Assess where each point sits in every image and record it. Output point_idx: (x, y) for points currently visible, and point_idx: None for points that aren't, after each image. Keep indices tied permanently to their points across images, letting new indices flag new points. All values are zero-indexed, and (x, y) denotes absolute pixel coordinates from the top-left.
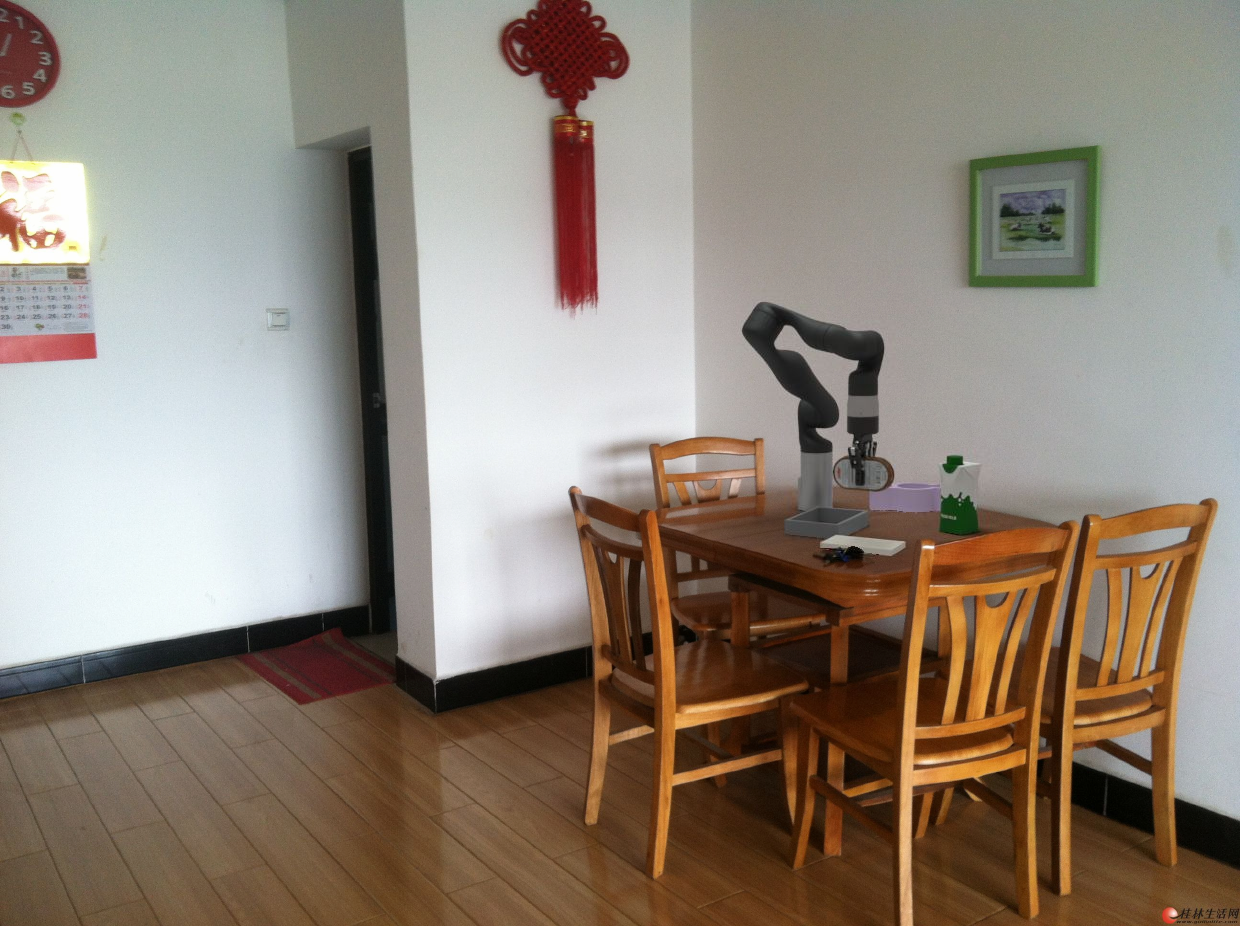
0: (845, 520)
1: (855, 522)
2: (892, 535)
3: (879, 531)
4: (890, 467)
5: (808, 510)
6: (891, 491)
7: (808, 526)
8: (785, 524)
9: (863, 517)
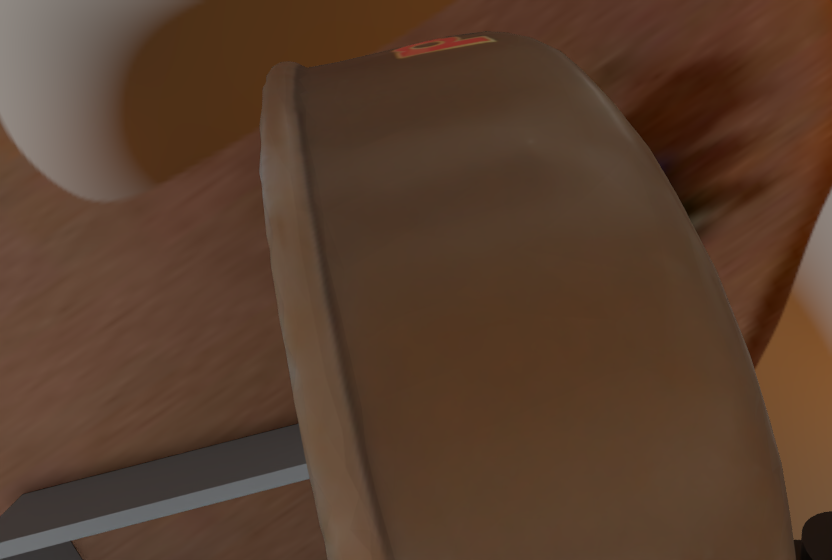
0: (245, 490)
1: (157, 485)
2: (101, 312)
3: (82, 397)
4: (400, 84)
5: None
6: None
7: None
8: None
9: (54, 515)
